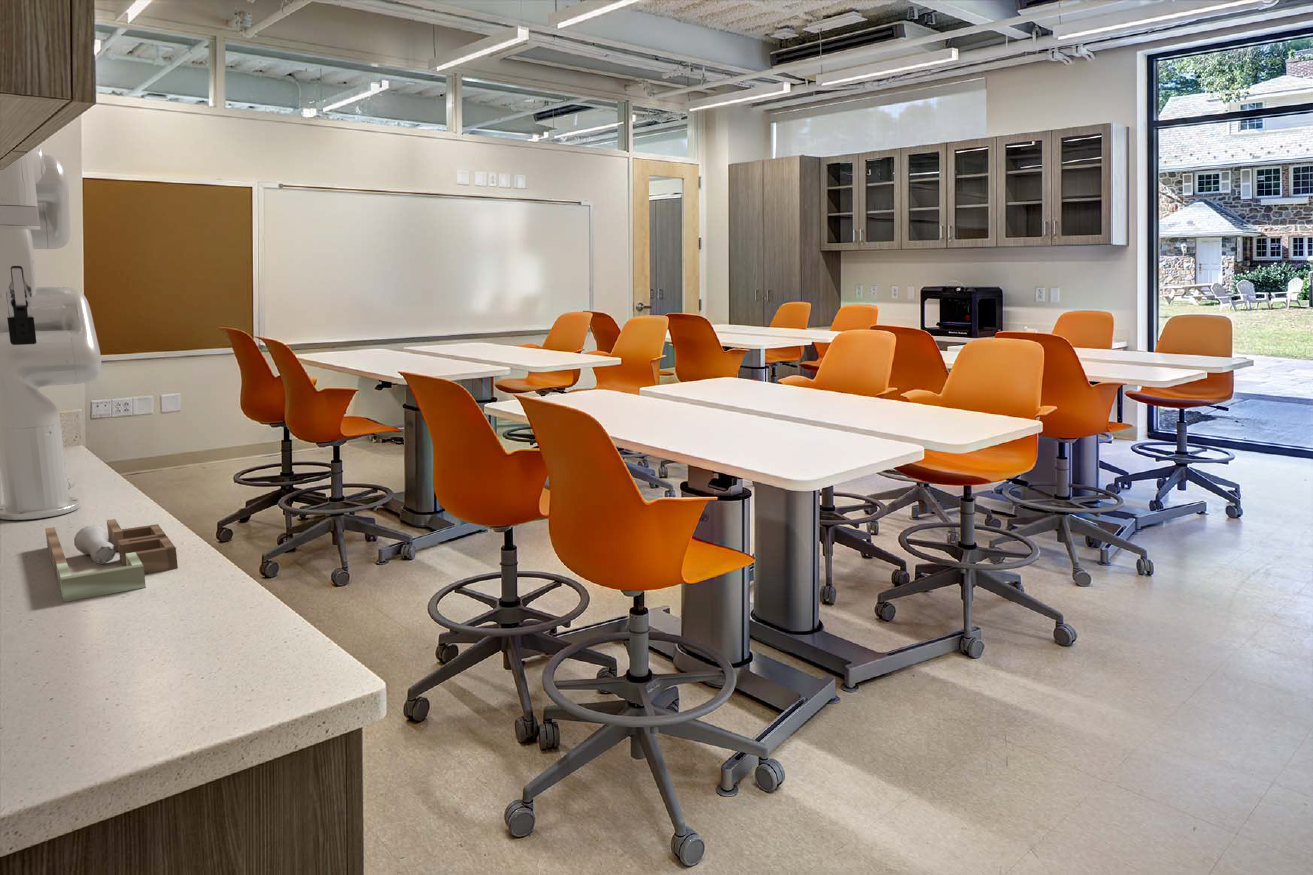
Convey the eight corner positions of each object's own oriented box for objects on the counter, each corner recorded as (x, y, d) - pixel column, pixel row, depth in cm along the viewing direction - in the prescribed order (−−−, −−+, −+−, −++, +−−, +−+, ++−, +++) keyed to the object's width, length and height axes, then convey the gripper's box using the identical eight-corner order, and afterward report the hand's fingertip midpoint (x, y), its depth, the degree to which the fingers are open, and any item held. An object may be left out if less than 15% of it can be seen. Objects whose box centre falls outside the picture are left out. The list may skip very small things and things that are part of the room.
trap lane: (47, 547, 143) (45, 528, 142) (152, 531, 151) (150, 514, 151) (63, 601, 120) (61, 579, 119) (186, 580, 128) (184, 559, 128)
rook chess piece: (86, 558, 140) (100, 575, 135) (66, 537, 138) (80, 553, 132) (113, 539, 142) (128, 555, 137) (94, 518, 140) (109, 533, 134)
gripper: (-25, 218, 139) (-10, 340, 143) (-22, 218, 128) (-5, 350, 132) (35, 220, 144) (48, 338, 148) (43, 219, 132) (58, 348, 136)
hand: (23, 343), depth 140 cm, fingers closed
